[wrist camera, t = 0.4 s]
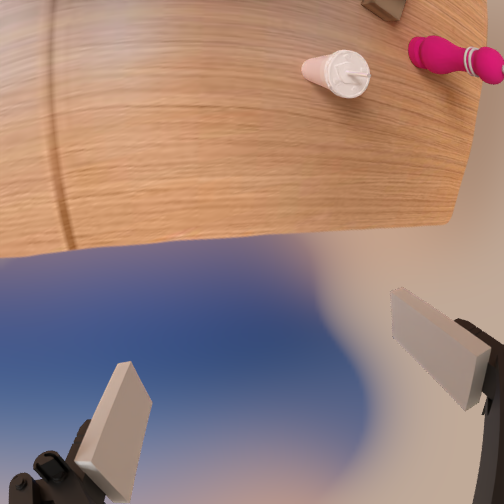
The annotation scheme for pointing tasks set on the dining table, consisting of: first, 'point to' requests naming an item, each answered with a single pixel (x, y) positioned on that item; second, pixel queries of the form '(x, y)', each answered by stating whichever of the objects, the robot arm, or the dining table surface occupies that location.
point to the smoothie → (339, 73)
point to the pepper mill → (456, 58)
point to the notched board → (385, 8)
